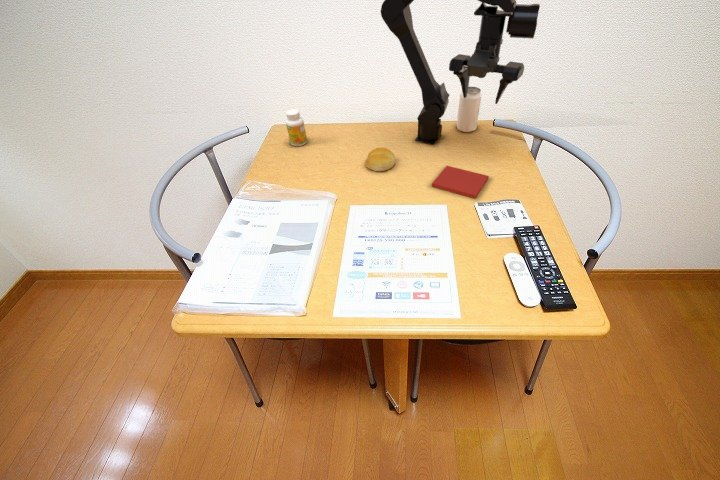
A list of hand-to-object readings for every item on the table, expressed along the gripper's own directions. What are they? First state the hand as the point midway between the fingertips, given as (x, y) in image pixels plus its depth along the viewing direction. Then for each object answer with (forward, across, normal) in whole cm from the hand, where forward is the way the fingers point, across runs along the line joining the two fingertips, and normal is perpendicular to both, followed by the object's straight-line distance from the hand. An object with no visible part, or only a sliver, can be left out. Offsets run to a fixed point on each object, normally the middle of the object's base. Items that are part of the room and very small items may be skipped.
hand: (480, 100), depth 102 cm
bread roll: (+13, -19, -24) cm, 33 cm away
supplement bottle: (+13, -49, -25) cm, 56 cm away
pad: (+13, +5, -22) cm, 26 cm away
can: (+13, -6, +9) cm, 17 cm away
